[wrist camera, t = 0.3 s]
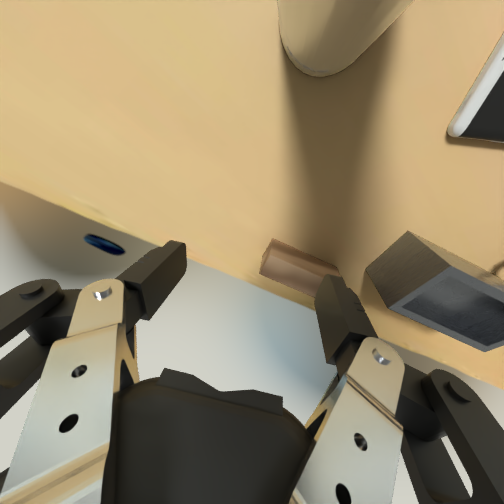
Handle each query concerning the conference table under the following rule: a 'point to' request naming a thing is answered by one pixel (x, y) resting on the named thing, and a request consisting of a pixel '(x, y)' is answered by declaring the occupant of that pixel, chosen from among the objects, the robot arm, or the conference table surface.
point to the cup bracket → (441, 291)
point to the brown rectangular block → (294, 268)
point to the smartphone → (483, 103)
